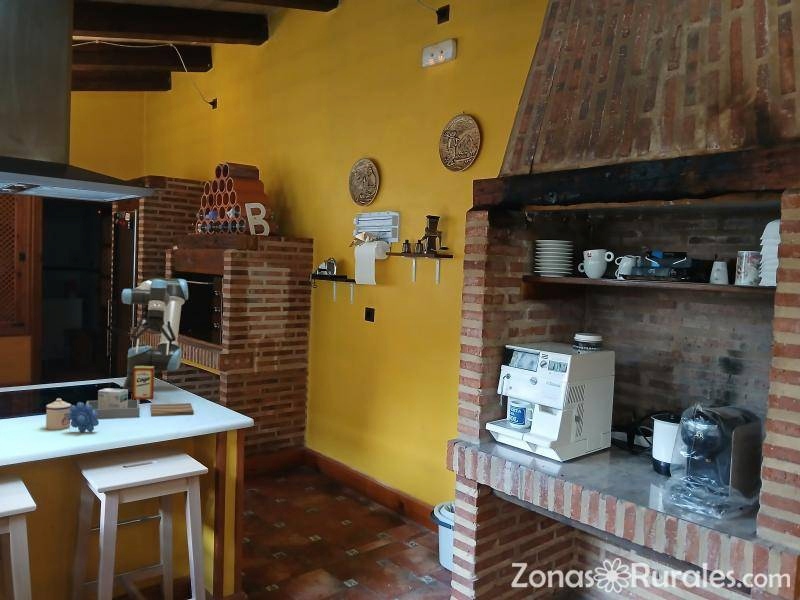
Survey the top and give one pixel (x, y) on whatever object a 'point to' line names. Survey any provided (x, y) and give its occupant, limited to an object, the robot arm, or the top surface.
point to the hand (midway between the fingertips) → (151, 353)
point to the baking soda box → (143, 382)
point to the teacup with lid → (57, 415)
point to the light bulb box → (112, 398)
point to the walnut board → (171, 409)
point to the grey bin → (117, 410)
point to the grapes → (83, 417)
